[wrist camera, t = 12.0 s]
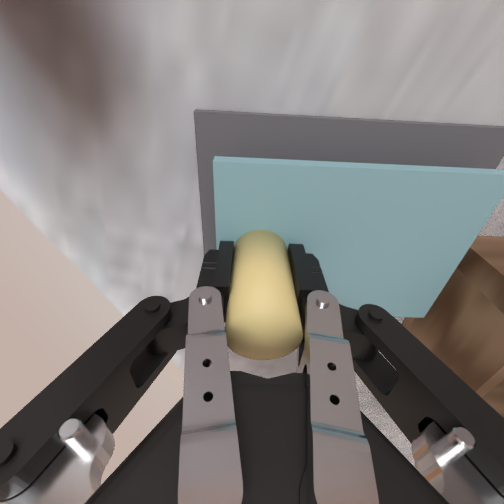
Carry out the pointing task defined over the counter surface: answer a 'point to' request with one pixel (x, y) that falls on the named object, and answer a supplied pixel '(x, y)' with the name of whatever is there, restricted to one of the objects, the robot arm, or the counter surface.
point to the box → (471, 321)
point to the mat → (334, 145)
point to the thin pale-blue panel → (341, 237)
